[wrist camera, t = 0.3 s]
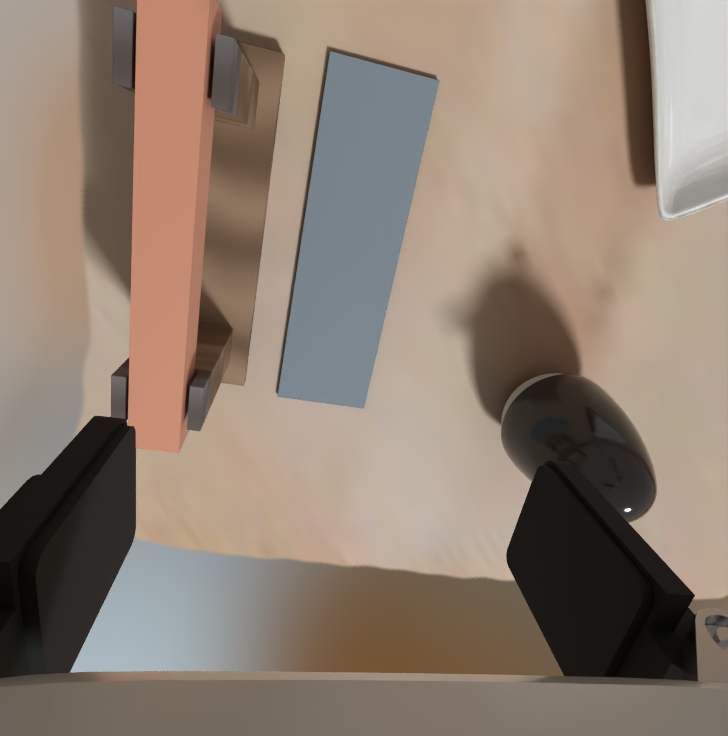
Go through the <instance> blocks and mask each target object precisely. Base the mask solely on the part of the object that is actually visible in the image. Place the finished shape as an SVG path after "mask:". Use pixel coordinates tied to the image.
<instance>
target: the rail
mask: <svg viewBox="0 0 728 736" xmlns="http://www.w3.org/2000/svg"><path fill="white" fill-rule="evenodd" d="M222 11H223V10H222V8H221V7H220V5H219V3H218V1H217V0H137V24H136V71H135V118H134V164H133V211H132V258H131V304H130V351H129V398H128V426H134V427H135V431H136V448H138V449H147V450H156V451H165V452H174V453H179V451H180V449H181V447H182V445H183V443H184V440H185V438H186V436H187V434H188V432H189V430H187V419H188V406H189V392H190V385H191V384H192V382H193V380H194V372H195V359H196V346H197V333H198V320H199V307H200V294H201V282H202V269H203V256H204V243H205V230H206V217H207V204H208V191H209V179H210V166H211V153H212V140H213V127H214V114H215V109H214V108H213V107H211V98H212V84H213V71H214V57H215V44H216V33H218V34H221V24H222Z"/></svg>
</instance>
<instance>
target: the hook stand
mask: <svg viewBox="0 0 728 736" xmlns="http://www.w3.org/2000/svg"><path fill="white" fill-rule="evenodd" d="M136 24H137V14H136V13H134V12H133V11H131V10H127V9H123V8H120V7H116V6H113V83H114V84H116V85H119V86H121V87H123V88H125V89H127V90H130V91H132V92H134V93H135V71H136ZM284 62H285V55H284V53H280V52H276V51H272V50H269V49H265V48H261V47H257V46H253V45H250V44H246V43H242V42H238V41H236V40H235V38H233V37H229V36H225V35H221V34H218V33H216V44H215V57H214V71H213V84H212V98H211V107H213V108H214V109H215V114H214V127H213V140H212V153H211V166H210V179H209V191H208V204H207V217H206V230H205V243H204V256H203V269H202V282H201V294H200V307H199V320H198V333H197V346H196V359H195V372H194V380H193V382H192V384H191V385H190V392H189V406H188V419H187V430H194V431H200V430H201V428H202V425H203V423H204V421H205V418H206V416H207V414H208V411H209V409H210V407H211V404H212V402H213V400H214V397H215V395H216V393H217V390H218V388H219V386H220V383H227V384H234V385H241V386H244V384H245V380H246V373H247V364H248V356H249V348H250V340H251V332H252V323H253V315H254V307H255V299H256V291H257V283H258V274H259V266H260V258H261V250H262V242H263V234H264V225H265V217H266V209H267V201H268V193H269V185H270V176H271V168H272V160H273V152H274V144H275V135H276V127H277V119H278V111H279V103H280V95H281V86H282V78H283V70H284ZM128 398H129V358H128V359H127V360H126V361H125V362H124V363H123V364H122V365H121V366H120V367H119V368H118V369H117V370H116V371H115V372H114V373H113V374H112V375H111V417H114V418H124V419H125V420H127V419H128Z"/></svg>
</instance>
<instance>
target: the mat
mask: <svg viewBox="0 0 728 736" xmlns="http://www.w3.org/2000/svg"><path fill="white" fill-rule="evenodd" d="M438 84H439V80H435V79H432V78H428V77H424V76H421V75H417V74H413V73H409V72H406V71H402V70H398V69H395V68H391V67H387V66H383V65H380V64H376V63H372V62H369V61H365V60H361V59H357V58H354V57H350V56H346V55H343V54H339V53H335V52H332V51H330V55H329V62H328V69H327V75H326V82H325V88H324V95H323V101H322V108H321V115H320V121H319V128H318V134H317V141H316V147H315V154H314V161H313V167H312V174H311V180H310V187H309V193H308V200H307V207H306V213H305V220H304V226H303V233H302V239H301V246H300V253H299V259H298V266H297V272H296V279H295V285H294V292H293V299H292V305H291V312H290V318H289V325H288V331H287V338H286V344H285V351H284V358H283V364H282V371H281V377H280V384H279V390H278V397H283V398H291V399H298V400H305V401H313V402H320V403H327V404H335V405H342V406H349V407H357V408H364V405H365V401H366V397H367V392H368V388H369V383H370V379H371V375H372V370H373V366H374V362H375V357H376V353H377V349H378V344H379V340H380V336H381V331H382V327H383V323H384V318H385V314H386V310H387V305H388V301H389V297H390V292H391V288H392V284H393V279H394V275H395V271H396V266H397V262H398V257H399V253H400V249H401V244H402V240H403V236H404V231H405V227H406V223H407V218H408V214H409V210H410V205H411V201H412V197H413V192H414V188H415V184H416V179H417V175H418V171H419V166H420V162H421V158H422V153H423V149H424V145H425V140H426V136H427V131H428V127H429V123H430V118H431V114H432V110H433V105H434V101H435V97H436V92H437V88H438Z"/></svg>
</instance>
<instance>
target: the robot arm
mask: <svg viewBox="0 0 728 736" xmlns="http://www.w3.org/2000/svg"><path fill="white" fill-rule="evenodd" d="M135 530H136V431H135V427H134V426H127V422H126V420H125V419H124V418H114V417H104V416H94V417H93V418H92V419H91V420H90V421H89V422H88V423H87V425H86V426H85V427H84V428H83V429H82V430H81V431H80V432H79V433H78V435H77V436H76V437H75V438H74V439H73V440H72V441H71V442H70V443H69V444H68V446H67V447H66V448H65V449H64V450H63V451H62V452H61V453H60V454H59V456H58V457H57V458H56V459H55V460H54V461H53V462H52V464H51V465H50V466H49V467H48V468H47V469H46V470H45V471H44V472H43V473H42V474H41V475H35V476H32V477H31V478H30V479H29V480H27V481H26V482H25V483H24V484H23V485H22V487H21V488H20V489H19V490H18V491H17V492H16V493H15V494H14V495H13V496H12V497H11V498H10V499H9V500H8V502H7V503H6V504H5V505H4V506H3V507H2V508H1V509H0V736H728V612H726V611H723V610H718V609H714V608H703V609H701V610H700V611H698V612H697V613H696V615H694V613H693V612H692V611H691V610H690V609H689V608H688V606H689V605H690V603H691V601H692V599H693V598H694V596H695V595H694V594H693V593H692V592H691V590H690V589H689V588H688V587H687V586H686V585H685V584H684V583H683V582H682V581H681V580H680V579H679V577H678V576H677V575H676V574H675V573H674V572H673V571H672V570H671V569H670V568H669V567H668V565H667V564H666V563H665V562H664V561H663V560H662V559H661V558H660V557H659V556H658V555H657V554H656V552H655V551H654V550H653V549H652V548H651V547H650V546H649V545H648V544H647V543H646V542H645V541H644V539H643V538H642V537H641V536H640V535H639V534H638V533H637V532H636V531H635V530H634V529H633V528H632V526H631V525H630V524H629V523H628V522H627V521H626V520H625V519H624V518H623V517H622V516H621V514H620V513H619V512H618V511H617V510H616V509H615V508H614V507H613V506H612V505H611V504H610V503H609V501H608V500H607V499H606V498H605V497H604V496H603V495H602V494H601V493H600V492H599V491H598V490H597V488H596V487H595V486H594V485H593V484H592V483H591V482H590V481H589V480H588V479H587V478H586V477H585V475H584V474H583V473H582V472H581V471H580V470H579V469H578V468H577V467H576V466H575V465H574V464H573V463H570V462H561V461H551V460H549V461H546V462H545V463H544V464H543V466H539V467H538V468H537V470H536V472H535V475H534V478H533V481H532V483H531V486H530V489H529V492H528V494H527V497H526V500H525V503H524V505H523V508H522V511H521V513H520V516H519V519H518V522H517V524H516V527H515V530H514V533H513V535H512V538H511V541H510V544H509V546H508V549H507V555H506V557H507V564H508V566H509V568H510V570H511V572H512V574H513V576H514V578H515V580H516V582H517V584H518V586H519V588H520V590H521V592H522V594H523V596H524V598H525V600H526V602H527V604H528V606H529V607H530V610H531V612H532V614H533V615H534V617H535V619H536V621H537V623H538V625H539V627H540V629H541V631H542V633H543V635H544V637H545V639H546V641H547V643H548V645H549V647H550V649H551V651H552V653H553V655H554V657H555V659H556V660H557V662H558V664H559V666H560V668H561V670H562V672H563V674H564V676H530V675H479V674H478V675H477V674H416V673H415V674H414V673H344V672H337V673H336V672H233V671H232V672H231V671H229V672H228V671H154V672H153V671H148V672H146V671H145V672H78V673H77V672H76V673H70V671H71V669H72V666H73V664H74V662H75V660H76V658H77V656H78V654H79V652H80V650H81V648H82V646H83V644H84V642H85V640H86V638H87V636H88V633H89V631H90V629H91V627H92V625H93V623H94V621H95V619H96V617H97V615H98V613H99V611H100V609H101V607H102V605H103V603H104V600H105V599H106V596H107V594H108V592H109V590H110V588H111V586H112V584H113V582H114V580H115V578H116V576H117V574H118V572H119V569H120V568H121V566H122V564H123V561H124V559H125V557H126V555H127V553H128V551H129V549H130V547H131V545H132V542H133V539H134V535H135Z"/></svg>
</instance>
